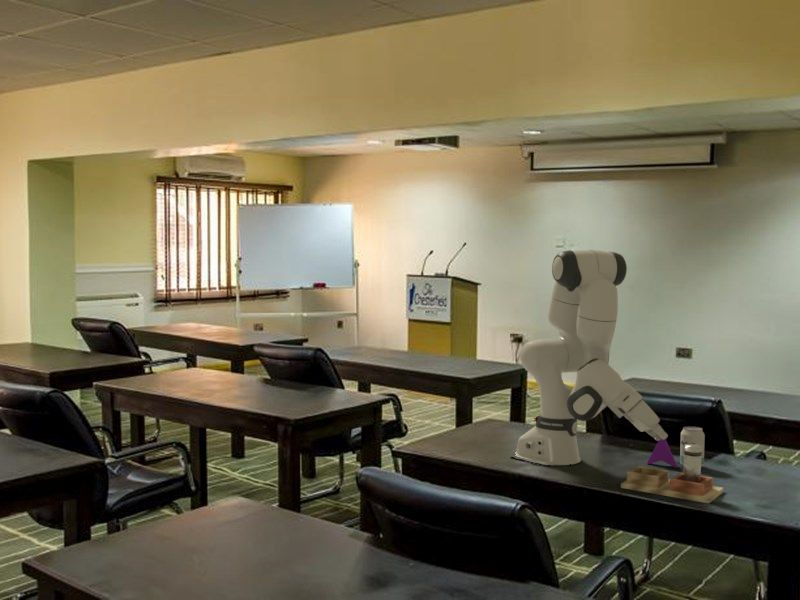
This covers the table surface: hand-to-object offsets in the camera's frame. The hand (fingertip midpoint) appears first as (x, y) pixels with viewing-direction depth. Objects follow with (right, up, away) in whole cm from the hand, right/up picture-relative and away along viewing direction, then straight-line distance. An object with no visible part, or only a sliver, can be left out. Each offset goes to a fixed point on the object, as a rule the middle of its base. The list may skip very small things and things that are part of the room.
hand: (663, 438), depth 224 cm
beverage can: (+16, -12, +20) cm, 28 cm away
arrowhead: (+7, -12, +22) cm, 27 cm away
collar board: (+1, -13, -4) cm, 14 cm away
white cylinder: (+5, -12, -8) cm, 16 cm away
